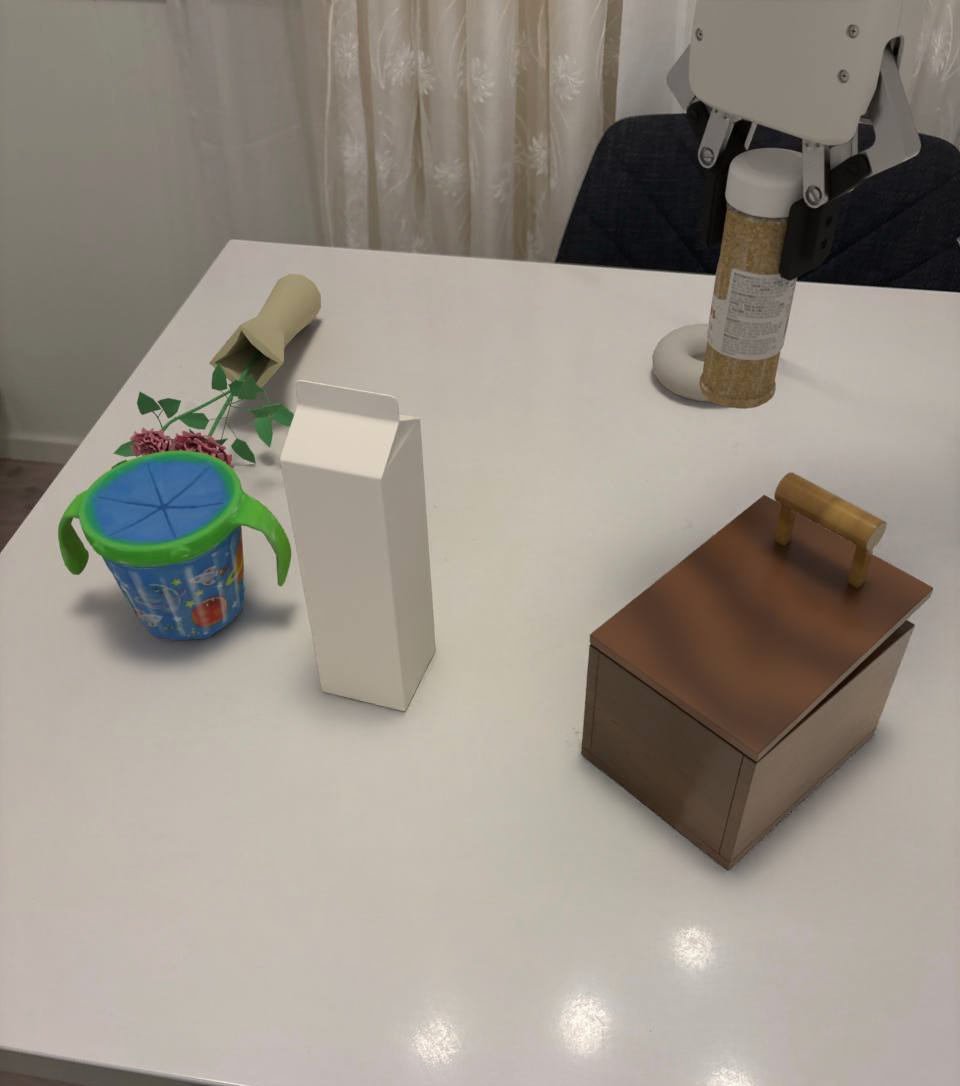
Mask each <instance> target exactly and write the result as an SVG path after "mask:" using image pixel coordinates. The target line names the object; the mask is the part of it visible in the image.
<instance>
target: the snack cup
mask: <svg viewBox="0 0 960 1086" xmlns="http://www.w3.org/2000/svg"><path fill="white" fill-rule="evenodd" d="M111 468H112V467H111ZM74 519H77V520H78V521H79V524H80V527H81V530H82V533H83V535H84V537H85V539H86V541H87V542H88V544H89V546H90V547H92V549H93V551H94V552H95V553H96V554H97V555H98V556H100V557H101V558H102V561H104V563H105V565H106V567H107V569H108V570H109V572H110V573H111V574H112V576H113V578H114V580H115V581H116V584H117V585H118V587H119V589H120V591H121V592H122V594H123V596H124V597H125V599H126V601H127V602H128V604H129V605H130V607H131V608H132V610H133V613H134V614H135V616H136V617H137V618H138V620H139V621H140V623H141V624H142V625H143V626H144V627H145V628H146V629H147V631H148V632H149V633H150V635H152V636H155V637H156V638H157V639H160V638H163V639H166V640H170V641H189V640H203V639H209V638H211V637H213V635H214V634H215V633H217V632H219V631H220V630H222V629H224V628H225V627H226V626H228V625H229V624H230V623H231V622H232V621H233V620H234V619H235V618H236V617H237V616H238V615H239V613H240V612H242V611H243V610H244V609H243V608H244V603H245V592H246V585H245V581H244V580H245V579H244V578H245V574H244V573H245V563H244V561H245V560H244V544H243V543H244V542H243V529H242V527H247V528H249V529H252V530H256V531H258V532H260V533H262V534H263V536H264V537H265V538H266V541H267V542H268V544H269V545H270V547H271V549H272V550H273V552H274V554H275V560H276V577H277V586H279V587H280V588H281V587H283V586H284V584H285V582H286V580H287V576H288V573H289V569H290V566H291V561H292V546H291V543H290V540H289V538H288V536H287V533H286V531H285V530H284V529H285V528H284V527H283V526H282V524H281V522H279V520H278V518H276V516H275V515H274V514H273V512H272V511H271V510H270V509H269V508H268V507H267V506H266V505H264V504H263V503H262V502H260V500H258V499H256V498H254V497H253V496H251V495H250V494H248V493H246V492H245V490H244V489H243V486H242V483H241V480H240V478H239V476H238V474H237V472H236V471H235V469H234V468H231V467H230V466H229V465H228V464H226V462H223V461H222V460H220V459H218V458H216V457H213V456H210V455H208V454H204V453H199V452H193V451H166V452H158V453H153V454H148V455H144V456H142V455H140V456H138V457H135V458H131V459H129V460H127V462H124V463H122V464H120V465H118V466H116V467H114V468H112V469H109V470H107V471H106V472H104V473H103V474H102V475H100V476H99V477H98V478H97V479H96V480H94V482H93V483H91V485H90V486H89V487H88V488H87V489H85V490H84V491H81V492H80V493H79V494H76V496H75V497H74V499H73V500H71V502H70V503H69V505H68V506H67V507H66V509H65V511H64V512H63V514H62V516H61V518H60V520H59V524H58V526H57V527H58V528H57V540H58V544H59V550H60V555H61V557H62V561H63V563H64V566H65V567H66V568H67V570H68V571H69V572H70V573H71V574H72V575H74V576H80V575H81V574H82V573H83V572H84V571H85V569H86V567H87V564H88V562H89V559H90V558H89V557H90V553H89V551H88V549H87V548H86V547H85V544H84V542H83V541H82V539H81V538H80V536H79V535H78V533H77V532H76V530H75V528H74V526H73V524H72V523H73V520H74Z"/></svg>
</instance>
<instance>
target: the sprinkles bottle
mask: <svg viewBox="0 0 960 1086" xmlns="http://www.w3.org/2000/svg"><path fill="white" fill-rule="evenodd" d="M725 197H726V200H727V212H726V218H725V224H724V232H723V239H722V241H721V245H720V252H719V253H720V254H719V257H718V258H719V259H718V262H717V266H716V267H717V268H716V270H715V271H716V272H715V278H714V283H713V285H714V286H713V291H712V297H711V305H710V310H709V311H710V312H709V319H708V324H709V325H708V331H707V340H708V341H707V347H706V353H705V360H704V366H703V373H702V374H701V376H700V381H699V385H700V389H701V392H702V393H703V395H705V396H706V397H707V398H708V399H709V400H710V401H709V402H711V401H712V403H714V404H716V405H720V406H723V407H727V408H733V409H741V410H743V409H744V410H745V409H754V408H758V407H760V406H762V405H764V404H766V403H768V402H769V401H770V400H772V398H773V397H774V395H775V392H776V389H777V388H776V386H777V384H776V383H777V382H776V377H777V374H778V373H777V372H778V367H779V361H780V357H781V352H782V349H783V348H784V344H785V340H786V335H787V330H788V326H789V320H790V316H791V311H792V305H793V300H794V295H795V290H796V286H797V281H798V277H797V278H795V279H793V280H791V281H789V280H786V279H784V278H782V277H781V276H780V274H779V265H780V260H781V255H782V249H783V244H784V239H785V233H786V228H787V222H788V217H789V212H790V208H791V206H792V204H793V203H794V202H796V201H798V200H800V199H802V198H803V152H800V151H796V150H792V149H788V148H787V149H786V148H779V147H761V148H755V149H750V150H749V149H748V150H747V151H746V152H743V153H741V154H739V155H738V156H736V157H735V158H734V159H733V160H732V162H731V164H730V167H729V172H728V178H727V185H726V192H725Z"/></svg>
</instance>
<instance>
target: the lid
mask: <svg viewBox="0 0 960 1086" xmlns="http://www.w3.org/2000/svg"><path fill="white" fill-rule="evenodd" d="M773 495H774V496H773V498H774V499H773V498H771V497H769V495H768V496H767V495H766V494H764V495H761V496H760V497H759V498H758V499H757V500H756V501H754V502H753V503H752V504H751V505H749V506H748V507H747V508H746V509H744V510H743V511H742V512H741V513H739V514H738V515H736V516H735V517H734V518H733V519H732V520H731V521H730V522H728V523H726V525H724V526H723V527H722V528H721V529H719V530H718V531H717V532H716V533H714V534H713V535H712V536H711V537H709V538H708V539H707V540H706V541H704V542H703V543H702V544H700V546H698V547H697V548H696V549H695V550H693V551H692V552H690V554H688V555H687V556H686V557H684V558H683V559H682V560H681V561H680V562H678V563H677V564H676V565H674V566H673V567H672V568H671V569H669V570H668V571H667V572H666V573H665V574H663V575H662V576H661V577H659V579H657V580H656V581H654V582H653V583H652V584H651V585H649V586H648V587H647V588H646V589H644V590H643V591H642V592H641V593H640V594H638V595H636V597H634V598H633V599H632V600H631V601H630V602H628V603H627V604H626V605H625V606H624V607H622V608H621V609H619V610H618V611H617V612H616V613H615V614H614V615H612V616H611V617H610V618H609V619H607V620H605V622H603V623H602V624H601V625H599V627H597V628H596V629H595V630H593V631H592V632H591V633H590V634H589V644H592V645H593V646H594V647H596V648H597V649H599V650H600V651H601V652H603V653H604V654H606V655H607V656H608V657H610V658H611V659H613V660H614V661H615V662H617V663H618V664H620V665H621V666H622V667H624V668H625V669H627V670H628V671H629V672H631V673H632V674H634V675H635V676H636V677H638V678H639V679H641V680H642V681H643V682H645V683H646V684H648V685H649V686H650V687H652V688H653V689H655V690H656V691H657V692H659V693H660V694H662V695H663V696H664V697H666V698H667V699H669V700H670V701H671V702H673V703H674V704H676V705H677V706H678V707H680V708H681V709H683V710H684V711H685V712H687V713H688V714H690V715H691V716H692V717H694V718H695V719H697V720H698V721H699V722H701V723H702V724H704V725H705V726H706V727H708V728H709V729H711V730H712V731H713V732H715V733H716V734H718V735H719V736H720V737H722V738H723V739H725V740H726V741H727V742H729V743H730V744H732V745H733V746H734V747H736V748H737V749H739V750H740V751H741V752H743V753H744V754H746V755H747V756H748V757H750V758H751V759H753V760H754V761H755V762H757V761H758V760H759V759H761V758H762V757H763V756H764V755H765V754H766V753H767V752H768V751H769V750H770V749H771V748H772V747H773V746H774V745H775V744H776V743H777V742H778V741H779V740H781V739H782V738H783V737H784V736H785V735H786V734H787V733H788V732H789V731H790V730H791V729H792V728H793V727H794V726H795V725H796V724H797V723H798V722H799V721H801V720H802V719H803V718H804V717H805V716H806V715H807V714H808V713H809V712H810V711H811V710H812V709H813V708H814V707H815V706H816V705H817V704H818V703H819V702H821V701H822V700H823V699H824V698H825V697H826V696H827V695H828V694H829V693H830V692H831V691H832V690H833V689H834V688H835V687H836V686H837V685H838V684H840V683H841V682H842V681H843V680H844V679H845V678H846V677H847V676H848V675H849V674H850V673H851V672H852V671H853V670H854V669H855V668H856V667H857V666H858V665H860V664H861V663H862V662H863V661H864V660H865V659H866V658H867V657H868V656H869V655H870V654H871V653H872V652H873V651H874V650H875V649H876V648H877V647H878V646H880V645H881V644H882V643H883V642H884V641H885V640H886V639H887V638H888V637H889V636H890V635H891V634H892V633H893V632H894V631H895V630H896V629H897V628H898V627H900V626H901V625H902V624H903V623H904V622H905V621H906V620H908V619H909V618H910V617H911V616H912V615H914V614H915V612H917V610H919V609H920V608H921V607H922V606H923V605H924V604H925V603H926V602H927V601H928V600H929V599H931V597H932V594H933V591H934V587H933V586H931V585H930V584H928V583H925V582H924V581H923V580H920V579H919V578H917V577H915V576H913V575H911V574H910V573H907V572H906V571H904V570H902V569H901V568H899V567H896V565H895V566H894V564H891V563H889V562H888V561H885V560H884V559H882V558H881V557H878V556H877V555H875V554H873V552H874V548H875V547H876V546H877V545H878V544H879V543H880V541H881V540H882V539H883V536H884V535H885V532H886V529H887V522H886V520H883V518H881V517H879V516H876V515H875V514H873V513H871V512H870V511H867V510H865V509H863V508H862V507H859V506H858V505H855V504H853V503H852V502H849V501H848V500H846V499H844V498H842V497H841V496H839V495H837V494H834V493H833V492H831V491H829V490H827V489H825V488H824V487H821V486H819V485H818V484H815V483H814V482H812V481H810V480H809V479H806V478H804V477H803V476H801V475H799V474H797V473H795V472H788V473H786V474H785V475H784V476H783V477H782V478H781V480H780V481H779V482H778V484H777V485H776V488H775V491H774V494H773Z"/></svg>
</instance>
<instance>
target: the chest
mask: <svg viewBox="0 0 960 1086" xmlns="http://www.w3.org/2000/svg"><path fill="white" fill-rule="evenodd" d="M915 627H916V624H915V623H913V622H912V621H910V620H908V619H907V620H906V621H905V622H904V623H903V624H902V625H901V626H900V627H898V628H897V629H896V630H895V631H894V632H893V633H892V634H891V635H890V636H889V637H888V638H887V639H886V640H885V641H884V642H883V643H882V644H881V645H880V646H878V647H877V648H876V649H875V650H874V651H873V652H872V653H871V654H870V655H869V656H868V657H867V658H866V659H865V660H864V661H863V662H862V663H861V664H860V665H858V666H857V667H856V668H855V669H854V670H853V671H852V672H851V673H850V674H849V675H848V676H847V677H846V678H845V679H844V680H843V681H842V682H841V683H840V684H838V685H837V686H836V687H835V688H834V689H833V690H832V691H831V692H830V693H829V694H828V695H827V696H826V697H825V698H824V699H823V700H822V701H821V702H819V703H818V704H817V705H816V706H815V707H814V708H813V709H812V710H811V711H810V712H809V713H808V714H807V715H806V716H805V717H804V718H803V719H802V720H801V721H799V722H798V723H797V724H796V725H795V726H794V727H793V728H792V729H791V730H790V731H789V732H788V733H787V734H786V735H785V736H784V737H783V738H782V739H781V740H779V741H778V742H777V743H776V744H775V745H774V746H773V747H772V748H771V749H770V750H769V751H768V752H767V753H766V754H765V755H764V756H763V757H762V758H761V759H759V760H758V761H757V762H755V761H754V760H753V759H751V758H750V757H748V756H747V755H746V754H744V753H743V752H741V751H740V750H739V749H737V748H736V747H734V746H733V745H732V744H730V743H729V742H727V741H726V740H725V739H723V738H722V737H720V736H719V735H718V734H716V733H715V732H713V731H712V730H711V729H709V728H708V727H706V726H705V725H704V724H702V723H701V722H699V721H698V720H697V719H695V718H694V717H692V716H691V715H690V714H688V713H687V712H685V711H684V710H683V709H681V708H680V707H678V706H677V705H676V704H674V703H673V702H671V701H670V700H669V699H667V698H666V697H664V696H663V695H662V694H660V693H659V692H657V691H656V690H655V689H653V688H652V687H650V686H649V685H648V684H646V683H645V682H643V681H642V680H641V679H639V678H638V677H636V676H635V675H634V674H632V673H631V672H629V671H628V670H627V669H625V668H624V667H622V666H621V665H620V664H618V663H617V662H615V661H614V660H613V659H611V658H610V657H608V656H607V655H606V654H604V653H603V652H601V651H600V650H599V649H597V648H596V647H594V646H593V645H592V644H591V643H589V646H588V657H587V658H588V659H587V671H586V685H585V696H584V697H585V698H584V711H583V723H582V724H583V725H582V737H581V748H580V749H581V750H580V755H582V757H584V758H585V759H587V760H588V761H589V762H590V763H592V764H593V765H594V766H596V768H598V769H599V770H600V771H602V772H603V773H604V774H606V775H607V776H608V777H609V778H611V779H612V780H613V781H614V782H615V783H617V784H618V785H619V786H620V787H622V788H623V789H625V790H626V791H627V792H629V794H631V795H632V796H633V797H635V798H636V799H637V800H639V802H641V804H643V805H644V806H646V807H647V808H648V809H650V810H651V811H652V812H653V813H654V814H656V815H657V816H658V817H659V818H661V819H662V820H664V822H666V823H667V824H668V825H670V826H671V827H672V828H674V829H675V830H676V831H677V832H678V833H680V834H681V835H682V836H684V837H685V838H686V839H688V840H689V841H690V842H691V843H692V844H693V845H695V846H696V847H697V848H699V849H700V850H701V851H702V852H704V853H705V854H706V855H708V856H709V857H710V858H711V859H713V860H714V861H715V862H716V863H718V864H719V865H720V866H721V867H723V868H724V869H725V870H727V871H729V870H730V869H731V868H732V867H733V866H734V865H736V864H737V863H738V862H739V861H740V860H741V859H742V858H744V856H746V855H747V854H748V853H749V852H750V851H751V850H752V849H753V848H754V847H755V846H756V845H757V844H759V842H761V840H763V838H764V837H766V836H767V835H768V834H769V833H770V832H772V830H773V829H775V827H776V826H777V825H779V824H780V823H781V822H782V821H783V820H784V819H785V818H786V817H787V816H788V815H790V814H791V813H792V811H794V810H795V809H796V808H797V807H798V806H799V805H800V804H801V803H802V802H803V801H804V800H806V798H807V797H809V796H810V795H811V794H812V793H813V792H814V791H816V789H817V788H818V787H819V786H821V785H822V783H824V782H825V781H826V780H827V779H828V778H829V777H830V776H831V775H833V773H835V772H836V770H838V769H839V768H840V767H841V766H843V764H844V763H845V762H846V761H847V760H848V759H850V758H851V757H852V756H853V755H854V754H855V753H856V752H857V751H858V750H860V749H861V747H863V746H864V745H865V744H866V743H867V742H868V741H869V740H870V739H871V738H873V737H874V736H875V733H876V731H877V728H878V724H879V721H880V720H881V716H882V713H883V711H884V709H885V706H886V703H887V701H888V698H889V696H890V693H891V690H892V689H893V685H894V682H895V680H896V677H897V675H898V671H899V670H900V667H901V663H902V661H903V658H904V656H905V654H906V650H907V648H908V645H909V642H910V639H911V637H912V634H913V631H914V630H915Z"/></svg>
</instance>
